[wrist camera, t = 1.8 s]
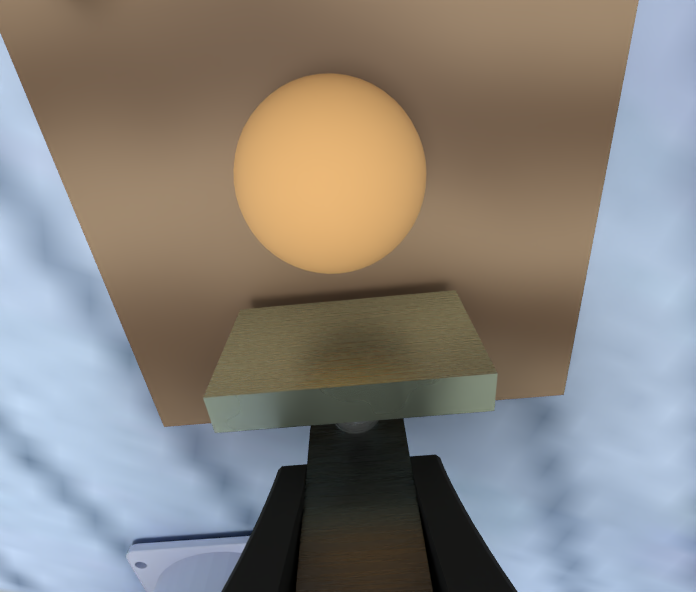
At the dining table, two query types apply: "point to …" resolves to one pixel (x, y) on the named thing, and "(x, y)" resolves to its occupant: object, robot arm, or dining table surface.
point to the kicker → (354, 419)
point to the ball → (329, 173)
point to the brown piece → (321, 58)
